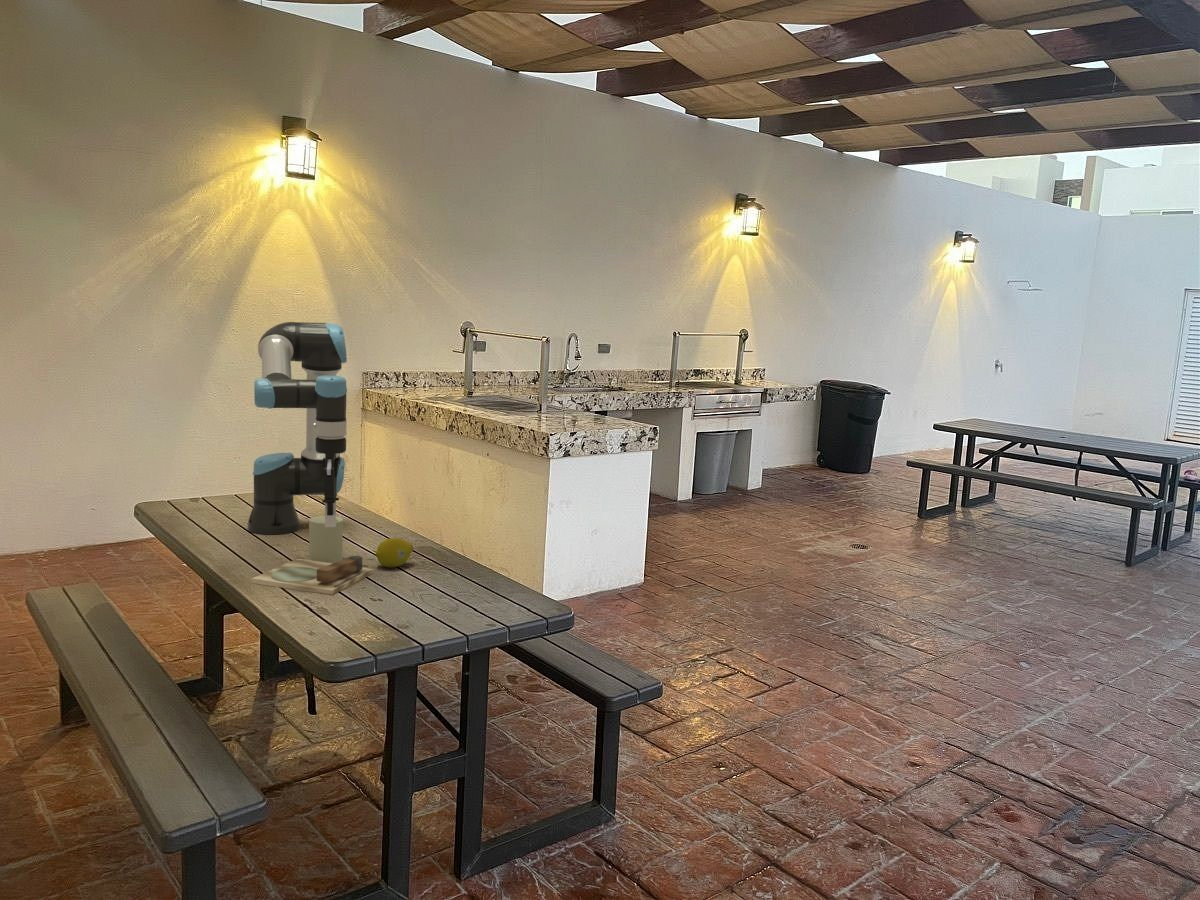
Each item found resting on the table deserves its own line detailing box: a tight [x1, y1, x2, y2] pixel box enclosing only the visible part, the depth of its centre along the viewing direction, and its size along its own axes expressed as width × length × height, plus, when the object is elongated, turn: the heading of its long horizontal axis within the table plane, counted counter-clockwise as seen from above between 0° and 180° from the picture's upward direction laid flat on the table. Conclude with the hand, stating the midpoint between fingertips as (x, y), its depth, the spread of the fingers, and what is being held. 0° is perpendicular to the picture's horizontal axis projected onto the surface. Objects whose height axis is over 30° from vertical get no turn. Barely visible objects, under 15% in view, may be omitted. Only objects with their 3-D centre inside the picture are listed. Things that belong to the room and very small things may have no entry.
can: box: [308, 515, 344, 563], centre depth 255 cm, size 9×9×12 cm
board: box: [251, 558, 374, 596], centre depth 239 cm, size 20×23×2 cm
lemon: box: [374, 537, 414, 569], centre depth 252 cm, size 11×8×8 cm
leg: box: [317, 555, 363, 583], centre depth 237 cm, size 15×4×3 cm, turn 158°
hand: (330, 526), depth 238 cm, fingers closed
